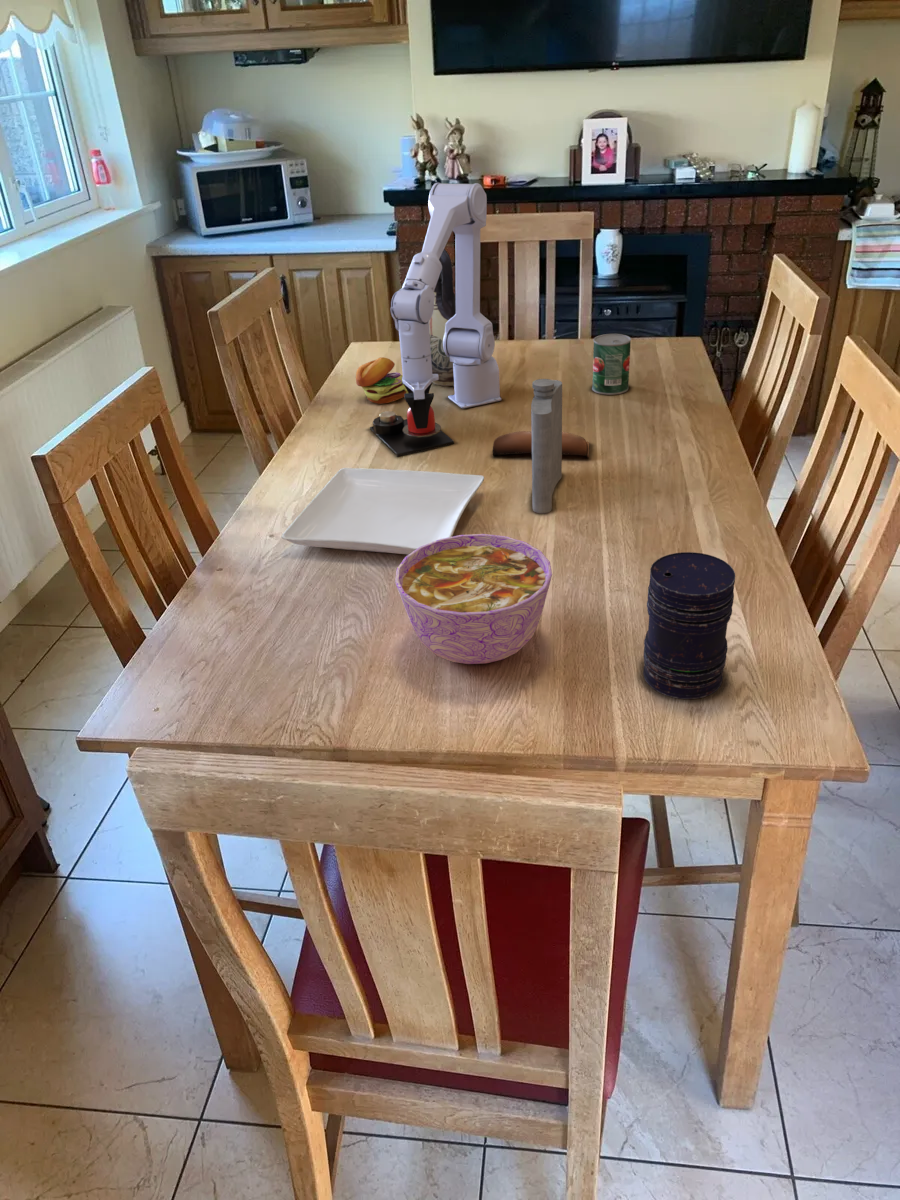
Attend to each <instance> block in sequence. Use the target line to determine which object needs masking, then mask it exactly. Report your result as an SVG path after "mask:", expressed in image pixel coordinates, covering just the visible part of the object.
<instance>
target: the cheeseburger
mask: <svg viewBox="0 0 900 1200" xmlns="http://www.w3.org/2000/svg"><path fill="white" fill-rule="evenodd" d="M395 365H396V364H395V362H394V361H393V360H391V359H390V358H388V357H385V356H381V357H378V358H377V359H374V360H370V361H368V362H366V363H364V364H361V365H360V366H358V368H357V369H356V371H355V383H356V385H357V386H358V387H361V388H362V390H363V392H364V395H366V398H367V400H368V401H369V402H371V403H374V404H378V405H382V404H389V403H392V402H395V401H398V400H401V399H403V398H405V397H404V394H406V393H408V391H407V389H406V387H405V386H404V384H403V382H402V377H403V374H401V373H400V372H391V371H392V370H393V369H394V367H395Z"/></svg>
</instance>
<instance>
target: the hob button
mask: <svg viewBox="0 0 900 1200" xmlns="http://www.w3.org/2000/svg"><path fill="white" fill-rule="evenodd" d="M396 415H397V413H396V412H395V411H392V410H386V411H383V412H380V413H379V416H380V423H383V424H391V423H394V422H396Z"/></svg>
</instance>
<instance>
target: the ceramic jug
mask: <svg viewBox="0 0 900 1200" xmlns="http://www.w3.org/2000/svg"><path fill="white" fill-rule="evenodd" d="M439 261H440V262H441V265H442V270H441V273H440V276H439V278H438V281H437V284H436V287H435V289H434V294H435V299H434V310H433V315H432V317H431V319H430V320H429V334H430V349H431V362H432V374H438V376H439V380H436V381H433V382H432V384H434V385H437V386H445V387H451V386H452V387H454V374H453V362H450V357H448V356H447V355H446V354H445V352H444V349H443V338H444V335H445V325H446V322H447V321H448V320H449V319H450V318H452V317H453V316H454V315H455V314H456V292H454V283H453V282H454V275H453V274H454V271H453V264H452V259H451V256H450V253H449V252H448V251H447V250H446V249H445V248H444V250H443V252H442V254H441V256H440V258H439ZM465 329H466V328H465Z"/></svg>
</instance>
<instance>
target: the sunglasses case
mask: <svg viewBox="0 0 900 1200" xmlns="http://www.w3.org/2000/svg"><path fill="white" fill-rule="evenodd" d="M517 454H519V455H520V454H521V455H522V454H532V430H529V431H526V430H521V431H520V430H519V431H514V432H509V433H505V434H503V435H499V436H497V437H496V438H495V439H494V441H493V444H492V456H496V455H517ZM562 455H565V456H566V455H568V456H570V455H571V456H582V457H583V456H585V457H586V458H590V442H589V441H587V440H586V439H585V438H584V437H582V436H581V435H577V434H575V433H571V432H566V431H562Z"/></svg>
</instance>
